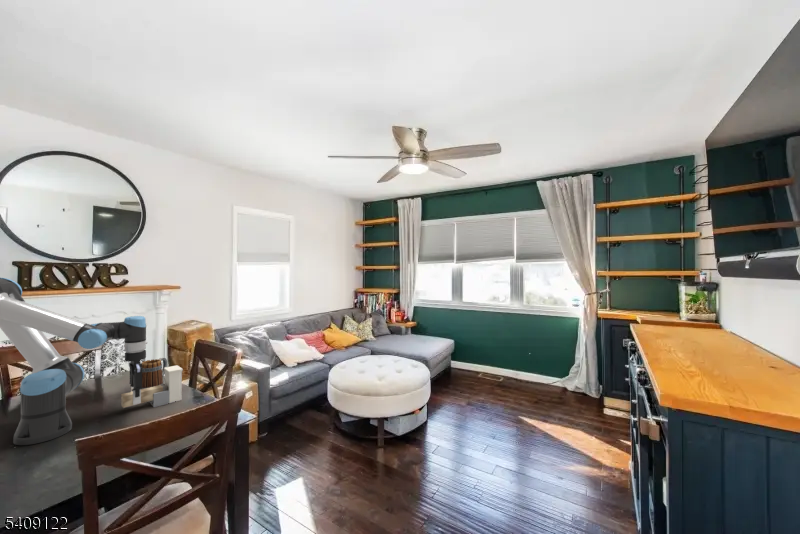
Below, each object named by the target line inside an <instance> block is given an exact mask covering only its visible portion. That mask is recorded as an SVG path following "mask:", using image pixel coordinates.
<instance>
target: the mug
mask: <svg viewBox="0 0 800 534" xmlns="http://www.w3.org/2000/svg"><path fill="white" fill-rule="evenodd" d="M141 363H142V368H143V369H142V389H145V388H150V387H154V386H158V385H161V384H165V379H163V377H165V370H164V368H165V367H168V359H167V358H166V357H159V358H157V359H147V360H144V361H141Z"/></svg>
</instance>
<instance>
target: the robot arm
mask: <svg viewBox="0 0 800 534" xmlns="http://www.w3.org/2000/svg"><path fill="white" fill-rule="evenodd" d="M22 295H23V289H22V286H21V284H19V283H18V282H16V281H15V280H13V279H10V278H7V277H0V329H1V331H2V332H3V333H4V334H5V335H6V337H7V338H8V339H9V340H10V342H11V344H13V345H14V347H15V348H16V350H18V352H19V353H20V355H22V357H23V358H24V359H25V361H26V362H27V363H28V364H29V365H30V367H31V368H32V371H31V374H27V375H26V376H25V377H24V378H23V379H22V381H21V383H20V388H19V391H20V421H19V423H18V426H17V427H16V430H15V432H14V434H13V439H12V440H13V441H12V442H13V444H14V445H15V446H16V445H17V446H28V445H29V446H30V445H35V444H39V443H40V444H41V443H44V442H48V441H51V440H54V439H57V438H59V437H62V436H63V435H65V434H67V433H69V432H70V431H71V430H72V429H73V422H72V419H71V417H70V415H69V414H68V411H67V410H66V405H67V404H66V403H67V400H66V399H67V398H66V397H67V395H68V394H70V393H71V392H73V391H74V390H75V389H77V388H78V387H79V386H80V385H81V383H82V382H83V381H84V379H85V375H86V374H85V370H84V367H82V366H81V365H80V364H78V363H76V362H72V360H71V359H70V358H69V357H68V356H63V355H61V354H60V353H59V352H58V351H57V349H56V348H55V347H54V345H53V344H52V342H51V341H50V340H49V339H48V338H47V336H46V335H45V334H44V333H46V334H49V335H53V336H56V337H59V338H61V339H65V340H68V341H72V342H74V343H78V345H79V346H80V347H81V348H83V349H87V350H92V349H95V348H98V347H101V346H103V345H104V344H105V343H106V342H109V341H111V340H114V341H115V340H122V339H124V352H125V353H124V361H126V362H128V365H129V366H128V368H129V385H130V392H133V406H136V405H135V404H137V405H140V404H142V403H141V389H142V369H143V368H142V360H145V359H146V358H147V350H146V348H147V344H148V341H147V340H146V339H147V323H146V317H145V316H143V315H134V316H127V317H125V318H124V320H123V321H115V322H98V323H91V324H90V323H86V322H83V321H81V320H78V319H74V318H72V317H69V316H66V315H63V314H60V313H57V312H54V311H51V310H48V309H45V308H42V307H39V306H37V305H34V304H30V303H27V302H26V300H25V299H24V298H23V297H22ZM139 403H140V404H139Z"/></svg>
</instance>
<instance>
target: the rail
mask: <svg viewBox="0 0 800 534" xmlns="http://www.w3.org/2000/svg"><path fill="white" fill-rule="evenodd" d="M166 390H167V386H166V385H165V383H163V384H161V385H158V386H154V387H150V388H145V389H141V403H139V404H135V405H133V392H131V391H129V392H125V393H121V394H120V397H121V401H120V404H121V407H122V408H123V409H124V408H128V407H133V406H136V405H140V404H143V403H147V402H149V401H152V400H153V394H154V393H158V392H162V391H166Z"/></svg>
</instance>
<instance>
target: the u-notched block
mask: <svg viewBox="0 0 800 534" xmlns="http://www.w3.org/2000/svg"><path fill="white" fill-rule="evenodd" d="M164 370H165V374H164V384H165V385H166V386H167V390H166V391H162V392H158V393H154V394H153V400H152V401H148V402H149V403H150V405H151V406H152V408H156V407H161V406H165V405H168V403H169V404H171V403H175V401H176V402H179V401H180V402H181V401H182V399H183V398H182V397H183V395H182V394H183V391H182V389H183V383H182V382H183V379H182V377H183V372H184V371H183V370H184V369H183V368H182V367H180V366H179V365H172V366H167V367H165V368H164Z"/></svg>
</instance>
